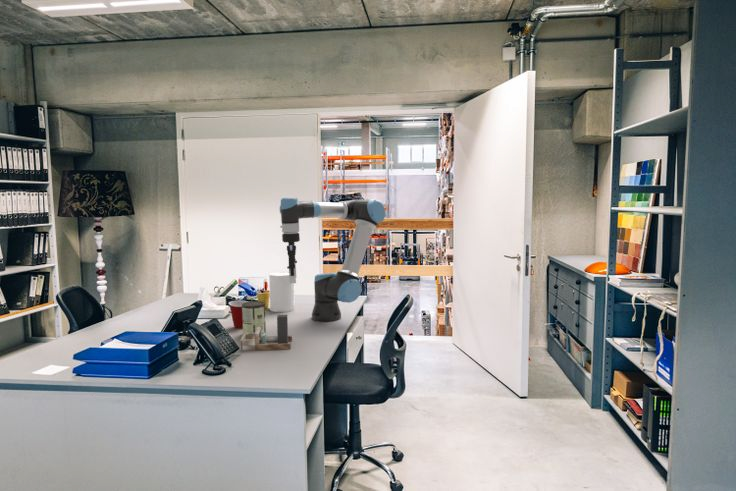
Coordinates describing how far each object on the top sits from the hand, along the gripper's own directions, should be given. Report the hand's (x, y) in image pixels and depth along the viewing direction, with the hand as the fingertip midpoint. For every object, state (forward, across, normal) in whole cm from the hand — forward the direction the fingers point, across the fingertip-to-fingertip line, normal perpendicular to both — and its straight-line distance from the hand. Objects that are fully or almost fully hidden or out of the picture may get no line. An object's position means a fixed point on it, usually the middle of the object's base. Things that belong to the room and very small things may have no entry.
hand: (293, 280), depth 211 cm
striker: (+24, +15, -8) cm, 30 cm away
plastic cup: (+24, -16, -26) cm, 39 cm away
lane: (+24, +15, -12) cm, 31 cm away
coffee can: (+24, -3, -19) cm, 31 cm away
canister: (+26, -52, -8) cm, 58 cm away
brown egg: (+22, +15, -16) cm, 31 cm away
